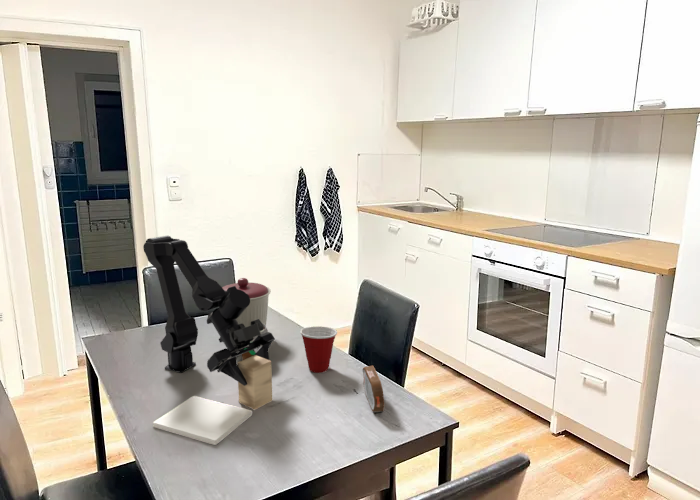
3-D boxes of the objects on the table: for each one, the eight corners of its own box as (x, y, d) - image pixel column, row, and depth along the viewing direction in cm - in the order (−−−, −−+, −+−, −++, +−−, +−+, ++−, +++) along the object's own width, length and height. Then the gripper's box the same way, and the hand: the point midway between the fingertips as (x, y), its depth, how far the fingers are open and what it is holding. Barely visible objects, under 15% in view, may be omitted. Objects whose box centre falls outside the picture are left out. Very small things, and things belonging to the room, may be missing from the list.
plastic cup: (343, 364, 153) (343, 327, 150) (326, 379, 143) (326, 339, 141) (311, 358, 157) (311, 321, 155) (293, 372, 148) (293, 333, 145)
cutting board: (153, 426, 119) (152, 422, 119) (193, 399, 132) (193, 395, 132) (215, 445, 112) (215, 440, 112) (252, 414, 125) (251, 410, 124)
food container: (260, 369, 150) (259, 337, 148) (240, 367, 151) (239, 335, 149) (274, 352, 162) (273, 322, 160) (256, 350, 163) (255, 321, 161)
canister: (229, 327, 184) (226, 270, 179) (278, 329, 181) (276, 272, 177) (209, 346, 166) (205, 284, 162) (262, 349, 164) (260, 286, 159)
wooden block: (239, 402, 131) (237, 362, 128) (256, 393, 135) (255, 354, 133) (254, 409, 127) (253, 369, 125) (272, 400, 132) (271, 360, 129)
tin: (385, 418, 124) (385, 386, 122) (372, 419, 123) (373, 387, 121) (372, 388, 138) (372, 360, 136) (361, 389, 138) (361, 360, 136)
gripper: (211, 321, 122) (244, 377, 117) (269, 303, 136) (299, 352, 132) (193, 344, 128) (223, 398, 124) (250, 324, 142) (279, 371, 138)
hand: (258, 379), depth 129 cm, fingers open, 8 cm apart
